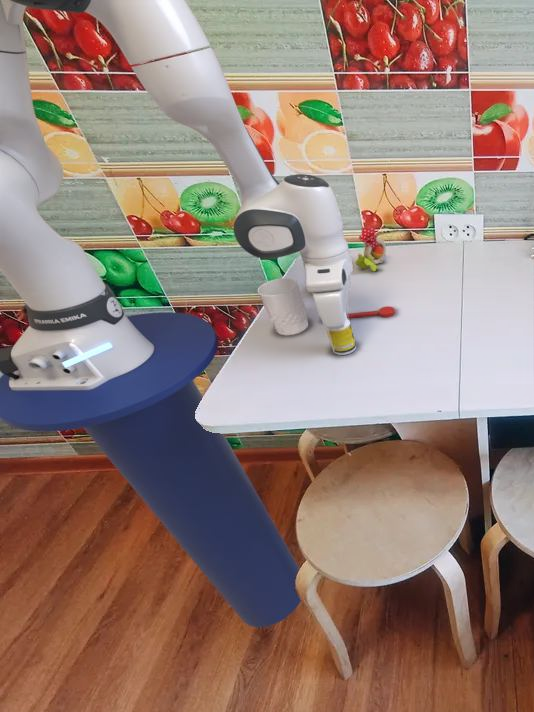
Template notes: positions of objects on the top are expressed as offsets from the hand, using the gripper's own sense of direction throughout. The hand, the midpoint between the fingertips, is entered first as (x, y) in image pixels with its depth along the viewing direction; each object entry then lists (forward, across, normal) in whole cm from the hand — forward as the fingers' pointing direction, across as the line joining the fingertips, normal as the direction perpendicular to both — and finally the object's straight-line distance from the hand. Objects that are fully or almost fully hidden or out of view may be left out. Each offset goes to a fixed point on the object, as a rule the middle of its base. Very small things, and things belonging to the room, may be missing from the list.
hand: (344, 323), depth 100 cm
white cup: (+2, -4, -12) cm, 13 cm away
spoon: (+2, -6, +2) cm, 7 cm away
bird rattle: (+2, -32, +5) cm, 33 cm away
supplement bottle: (+2, +6, 0) cm, 7 cm away
